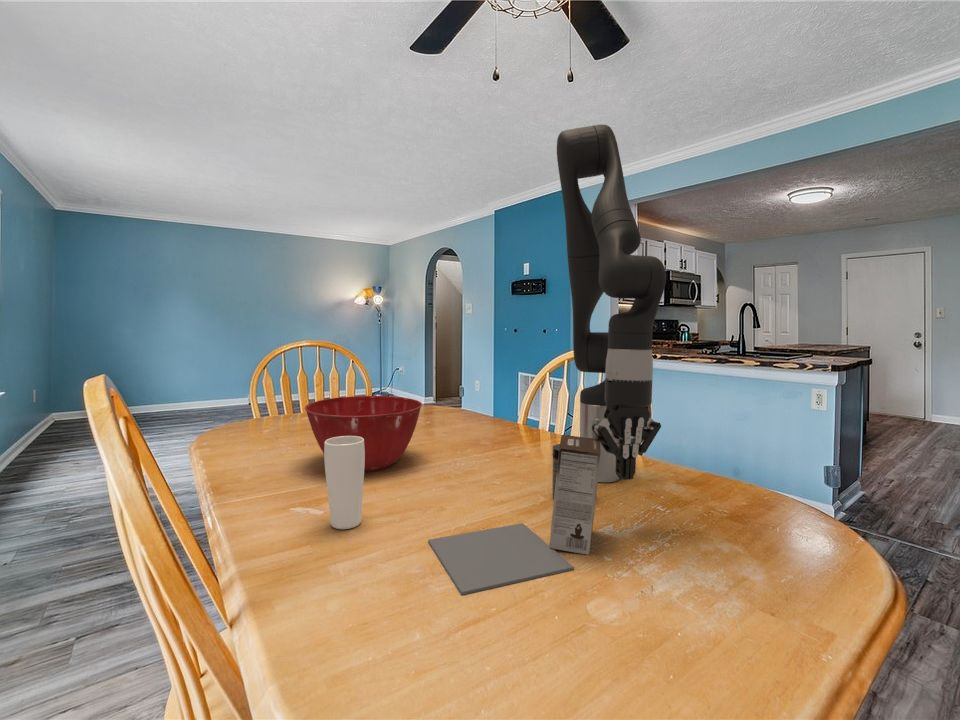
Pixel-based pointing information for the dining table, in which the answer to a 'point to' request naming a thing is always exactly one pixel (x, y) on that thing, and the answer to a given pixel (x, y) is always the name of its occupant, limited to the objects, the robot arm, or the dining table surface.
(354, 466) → the drinking glass
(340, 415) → the mixing bowl
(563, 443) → the coffee box
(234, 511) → the dining table surface
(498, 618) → the dining table surface
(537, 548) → the slate mat
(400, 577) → the dining table surface
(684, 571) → the dining table surface
